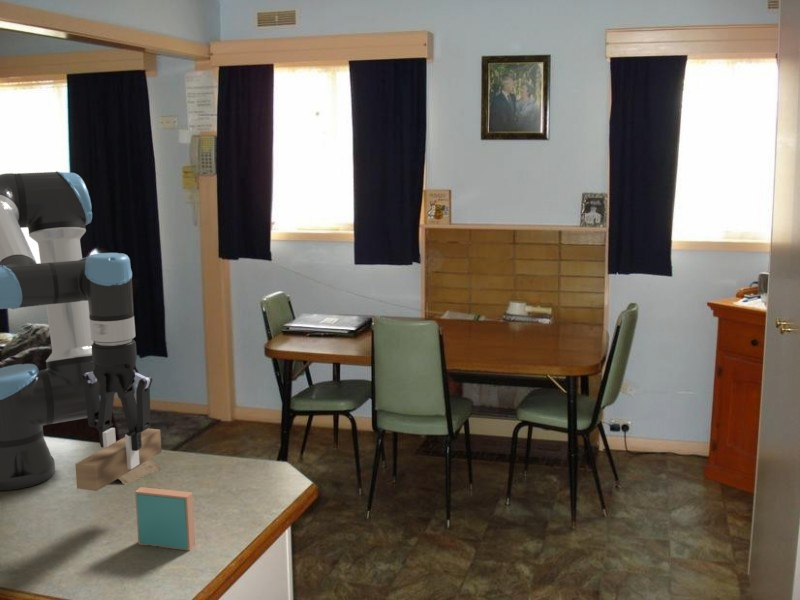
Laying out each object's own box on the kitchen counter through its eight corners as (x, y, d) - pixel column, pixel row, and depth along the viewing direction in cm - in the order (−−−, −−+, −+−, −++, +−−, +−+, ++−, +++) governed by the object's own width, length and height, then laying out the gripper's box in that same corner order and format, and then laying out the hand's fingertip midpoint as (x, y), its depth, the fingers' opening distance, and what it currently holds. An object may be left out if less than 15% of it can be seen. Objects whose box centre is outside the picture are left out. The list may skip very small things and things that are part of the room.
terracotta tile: (144, 539, 153) (141, 487, 151) (195, 545, 150) (192, 492, 148) (137, 545, 151) (134, 492, 149) (189, 551, 148) (186, 497, 146)
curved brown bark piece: (163, 472, 184) (163, 460, 184) (128, 488, 176) (127, 476, 175) (116, 459, 191) (115, 448, 191) (79, 475, 183) (78, 463, 182)
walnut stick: (143, 449, 165) (142, 427, 165) (161, 452, 164) (160, 429, 164) (77, 488, 147) (75, 463, 146) (96, 491, 145) (95, 466, 145)
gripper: (58, 342, 150) (69, 468, 154) (143, 348, 145) (152, 477, 150) (85, 333, 157) (94, 453, 161) (167, 338, 152) (174, 462, 157)
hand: (122, 465), depth 156 cm, fingers closed on walnut stick, 4 cm apart
